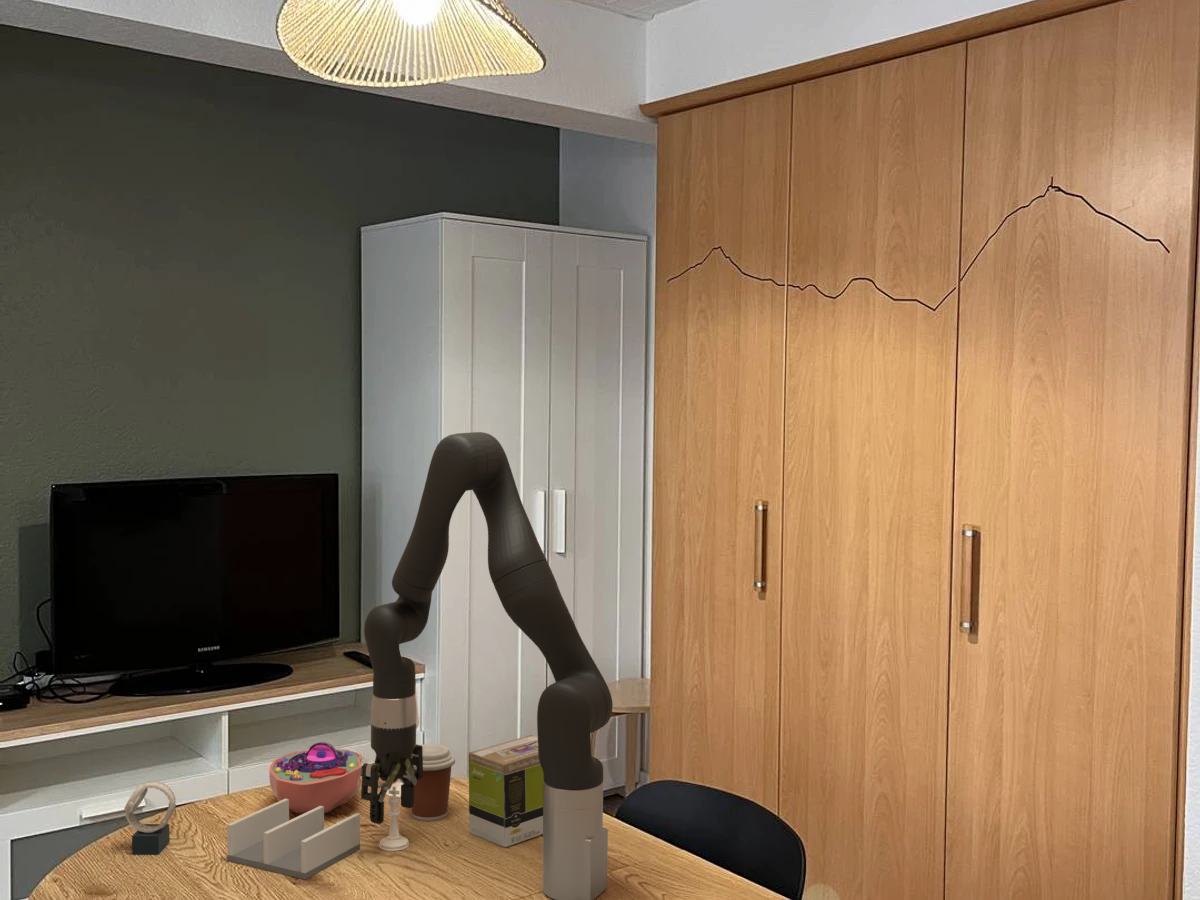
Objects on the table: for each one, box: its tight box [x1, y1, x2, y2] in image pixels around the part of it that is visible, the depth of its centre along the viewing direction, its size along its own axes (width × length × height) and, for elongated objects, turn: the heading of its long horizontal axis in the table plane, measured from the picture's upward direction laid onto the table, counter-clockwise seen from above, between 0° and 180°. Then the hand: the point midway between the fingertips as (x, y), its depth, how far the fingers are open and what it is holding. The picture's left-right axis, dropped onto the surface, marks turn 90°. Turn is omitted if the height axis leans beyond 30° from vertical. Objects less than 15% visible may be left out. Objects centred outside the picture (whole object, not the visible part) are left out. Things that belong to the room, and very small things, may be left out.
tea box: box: [468, 734, 544, 848], centre depth 213 cm, size 15×10×15 cm, turn 135°
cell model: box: [268, 741, 363, 815], centre depth 223 cm, size 17×20×11 cm
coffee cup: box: [411, 743, 456, 822], centre depth 220 cm, size 9×9×12 cm
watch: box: [123, 780, 177, 856], centre depth 203 cm, size 6×8×11 cm
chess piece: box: [378, 787, 410, 852], centre depth 206 cm, size 5×5×10 cm
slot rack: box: [226, 799, 361, 880], centre depth 201 cm, size 16×14×6 cm
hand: (392, 814), depth 206 cm, fingers open, 8 cm apart
